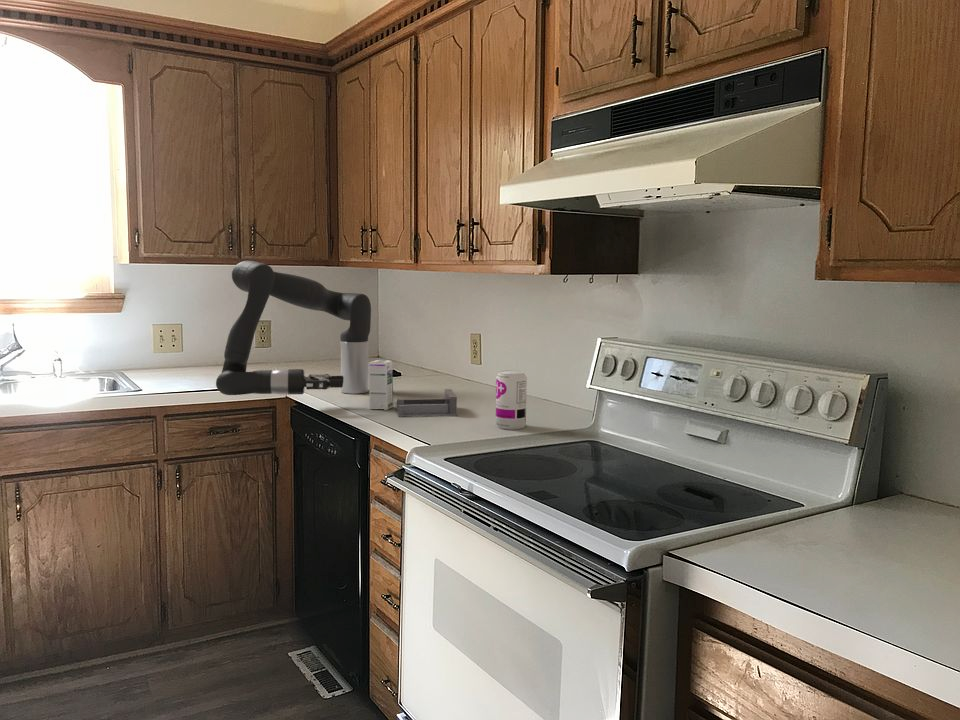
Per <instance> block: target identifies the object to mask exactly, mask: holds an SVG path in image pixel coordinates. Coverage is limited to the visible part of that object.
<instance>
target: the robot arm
mask: <svg viewBox="0 0 960 720" xmlns="http://www.w3.org/2000/svg"><path fill="white" fill-rule="evenodd" d="M231 279H232V281H233V284H234V286H236V287H237V289H239V290H240V291H243V292H245V293H247V299H246V303H245V305H244V308H243V309H242V312H241V314H240V315H239V316H238V318H237V319H236V321H235V322H234V323H233V324H232V327H231V328H230V330H229V333H228V336H227V340H226V344H225V347H224V348H225V349H224V355H223V356H224V362H223V366H222V370H221V373H220V374H219V375H218V376H217V378H216V381H215V387H216V389H217V390H218V391H219V392H220V393H221V394H222V395H225V396H241V395H251V394H255V395H256V394H259V395H271V394H272V395H279V396H281V395H285V396H286V395H293V396H294V395H304V393H305V388H306V390H309V391H310V390H324V391H325V390H329V389H330V388H332V389H333V388H340V392H341V393H343V394H363V393H369V335H370V332H371V324H372V323H371V322H372V321H371V320H372V306H371V301H370V299H369V297H368V296H367V295H366V294H364V293H354V292H338V291H334V290H330V289H327V288H326V287H325V286H324V284H322V283H320V282H318V281H316V280H314V279H311V278H307V277H305V276H300V275H295V274H291V273H284V272H278V271H274V269H273V268H272V267H271V266H270V265H268V264H266V263H262V262H259V261H254V260H243V261H241V262H239V263H237V264H236V265H234V267H233V269H232V271H231ZM270 296H271V297H273V298H275V299H277V300H280V301H283V302H285V303H288V304H291V305H293V306H296V307H300V308H302V309H307V310H311V311H318V312H323V313H326V314H329V315H332V316H334V317H336V318H338V319H341V320H343V321H349V326H348V328H347V330H344V331H342V332H341V333H340V341H339V342H340V375H330V374H328V373H325V374H322V373H321V374H320V373H319V374H316V373H315V374H314V373H311V374H309V375H307V376H306V375H305V370H304V369H303V368H286V369H285V368H282V369H281V368H279V369H272V370H271V369H259V370H258V369H257V370H253V371H247V367H248V361H249V359H250V355H251V350H252V345H253V341H254V338H255V334H256V330H257V328H258V324H259V323H260V320H261V317H262V315H263V312H264V309H265V307H266V304H267V302H268V300H269V297H270Z"/></svg>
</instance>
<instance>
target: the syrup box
mask: <svg viewBox="0 0 960 720" xmlns="http://www.w3.org/2000/svg"><path fill="white" fill-rule="evenodd" d="M368 370H369V391H368V393H369V410H372V409H384V410H383V411H389V410H390V409H391V408H393V407H394V382H393V380H394V379H393V377H394V376H393V375H394V374H393V360H390V359H375V360H373V361H370V362H369V361H368Z"/></svg>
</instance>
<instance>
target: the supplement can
mask: <svg viewBox="0 0 960 720" xmlns="http://www.w3.org/2000/svg"><path fill="white" fill-rule="evenodd" d="M527 379H528V378H527V376H526V373H525V372H524V371H521V370H514V369H513V370H507V369H506V370H501V371H498V374H497V375H496V377H495V380H496V381H495V385H496V386H495V426H497V428H499V429H502V430H509V431H510V430H512V431H513V430H514V431H515V430H522V429H523V428H524V427H525V426H527V383H528V381H527Z"/></svg>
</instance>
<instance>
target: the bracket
mask: <svg viewBox="0 0 960 720" xmlns="http://www.w3.org/2000/svg"><path fill="white" fill-rule="evenodd" d="M457 398H458V397H457V395H456V394H455V393H454V391H453V389H452V388H449V389H448V388H444V398H438V397H437V398H397V399H396V407H395V408H396V412H398V413H397V416H418V417H419V416H422V417H455V416H456V417H457V416H458V411H457V409H458V408H457V406H458V405H457V404H458V403H457V402H458V399H457ZM419 418H420V417H419Z"/></svg>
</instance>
